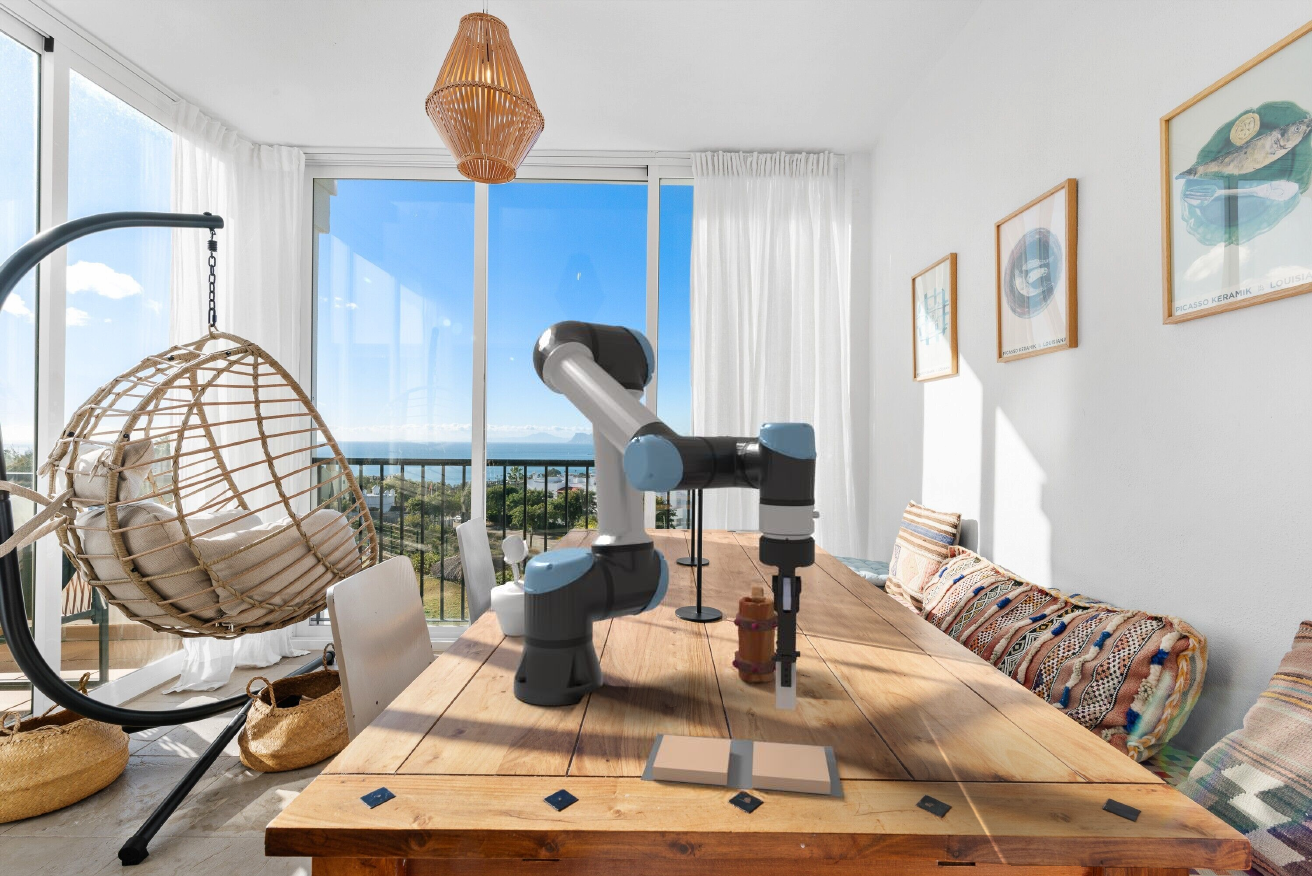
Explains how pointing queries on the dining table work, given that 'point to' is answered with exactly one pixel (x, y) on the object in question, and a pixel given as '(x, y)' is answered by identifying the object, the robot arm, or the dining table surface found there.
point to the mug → (755, 637)
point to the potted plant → (511, 589)
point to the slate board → (747, 767)
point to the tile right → (790, 768)
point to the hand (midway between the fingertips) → (785, 706)
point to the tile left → (693, 760)
